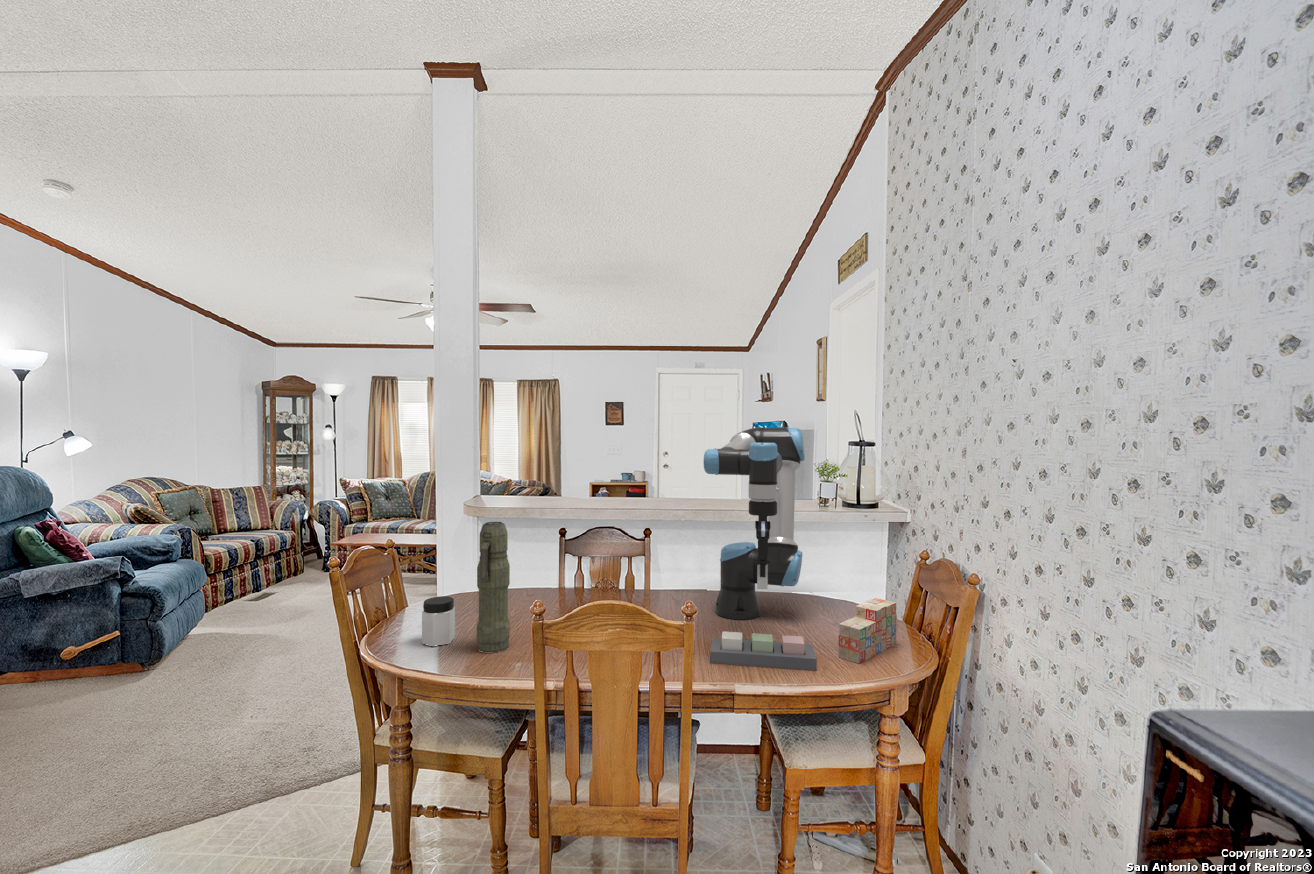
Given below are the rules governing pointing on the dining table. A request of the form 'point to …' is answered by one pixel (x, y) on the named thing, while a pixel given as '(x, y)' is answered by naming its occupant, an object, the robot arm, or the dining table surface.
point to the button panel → (763, 656)
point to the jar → (438, 620)
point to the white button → (732, 641)
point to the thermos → (493, 588)
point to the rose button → (792, 645)
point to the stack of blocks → (868, 631)
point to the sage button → (762, 643)
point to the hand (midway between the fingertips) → (762, 588)
